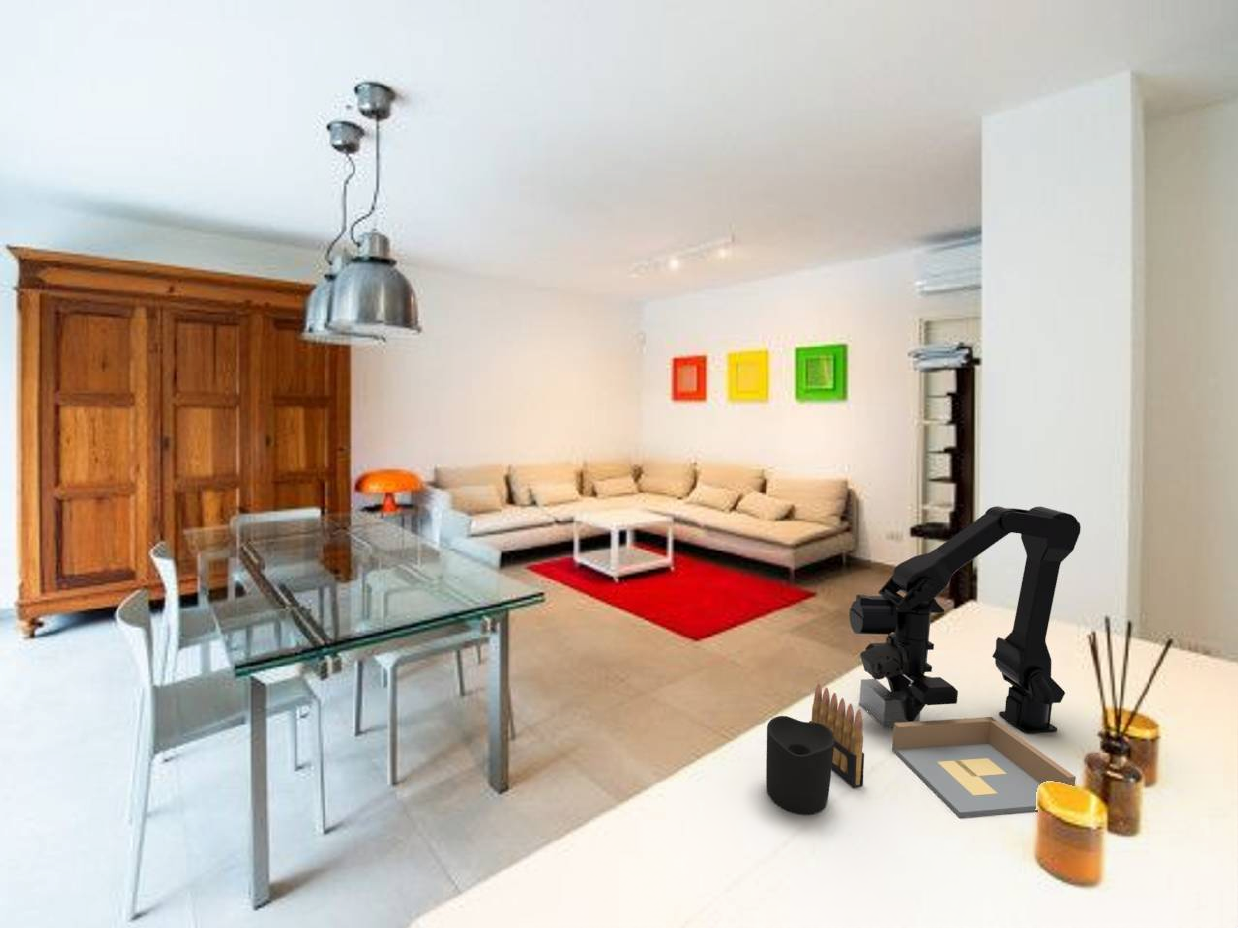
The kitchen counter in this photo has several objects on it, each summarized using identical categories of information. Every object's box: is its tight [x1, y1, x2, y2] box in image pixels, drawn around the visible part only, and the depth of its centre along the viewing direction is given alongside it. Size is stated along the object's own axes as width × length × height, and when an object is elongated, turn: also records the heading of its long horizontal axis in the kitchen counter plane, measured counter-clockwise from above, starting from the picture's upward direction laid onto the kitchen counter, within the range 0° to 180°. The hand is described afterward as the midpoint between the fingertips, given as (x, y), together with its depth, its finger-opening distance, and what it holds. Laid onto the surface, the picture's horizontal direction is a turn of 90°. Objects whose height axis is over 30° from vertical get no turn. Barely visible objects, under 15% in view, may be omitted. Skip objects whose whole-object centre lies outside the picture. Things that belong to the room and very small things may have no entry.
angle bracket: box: [858, 678, 921, 728], centre depth 110 cm, size 7×8×5 cm
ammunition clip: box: [808, 682, 865, 789], centre depth 94 cm, size 11×2×12 cm, turn 22°
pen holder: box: [765, 715, 835, 816], centre depth 86 cm, size 9×9×10 cm
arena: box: [891, 716, 1077, 819], centre depth 92 cm, size 18×16×5 cm
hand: (904, 715), depth 108 cm, fingers closed on angle bracket, 3 cm apart
